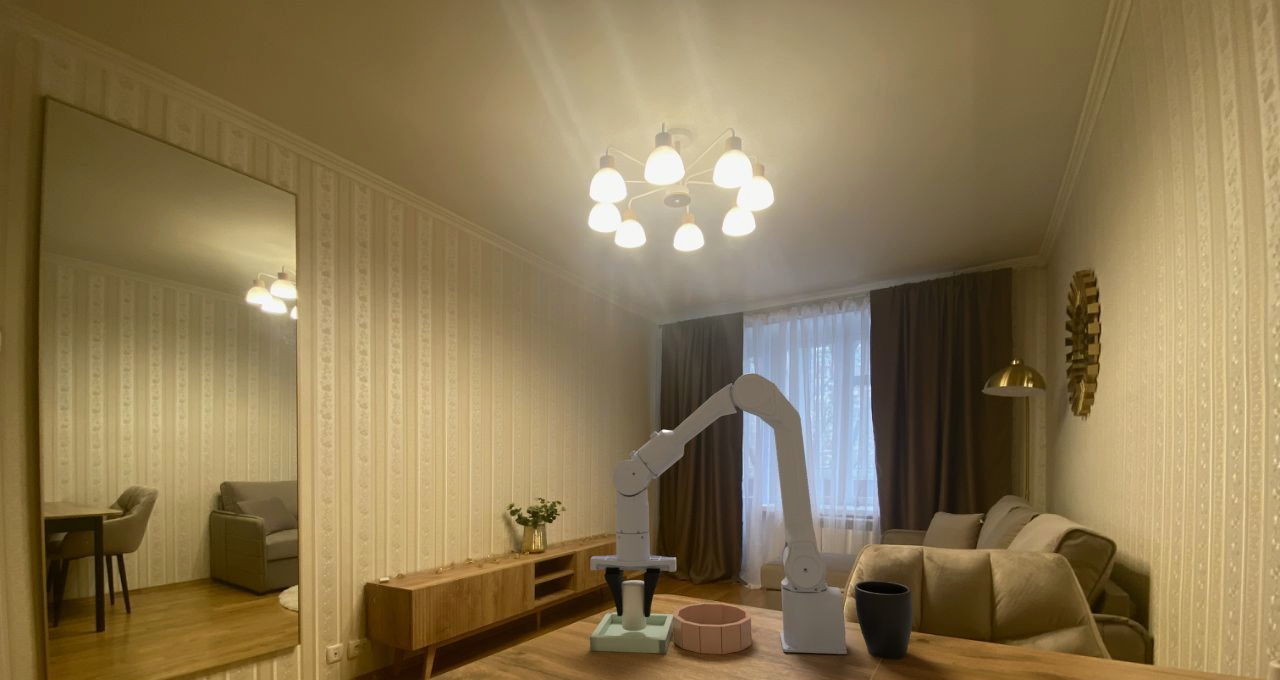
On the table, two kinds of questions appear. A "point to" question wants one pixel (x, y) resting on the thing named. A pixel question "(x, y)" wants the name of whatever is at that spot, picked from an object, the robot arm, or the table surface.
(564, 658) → the table surface
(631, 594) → the peg
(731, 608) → the segmented salmon ring
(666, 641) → the tray
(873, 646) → the mug
